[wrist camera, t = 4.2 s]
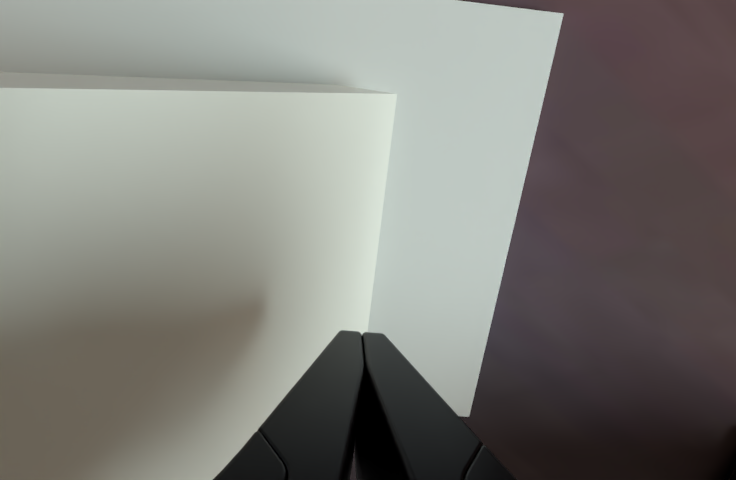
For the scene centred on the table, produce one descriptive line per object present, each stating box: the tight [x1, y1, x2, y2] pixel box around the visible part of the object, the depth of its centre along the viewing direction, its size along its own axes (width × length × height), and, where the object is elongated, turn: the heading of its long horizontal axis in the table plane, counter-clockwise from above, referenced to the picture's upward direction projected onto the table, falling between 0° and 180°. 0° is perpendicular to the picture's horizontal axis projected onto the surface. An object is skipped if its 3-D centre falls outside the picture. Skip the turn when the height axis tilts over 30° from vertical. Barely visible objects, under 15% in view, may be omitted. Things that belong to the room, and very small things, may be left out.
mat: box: [0, 0, 563, 417], centre depth 15 cm, size 18×14×1 cm
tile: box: [0, 72, 397, 480], centre depth 11 cm, size 2×9×10 cm
